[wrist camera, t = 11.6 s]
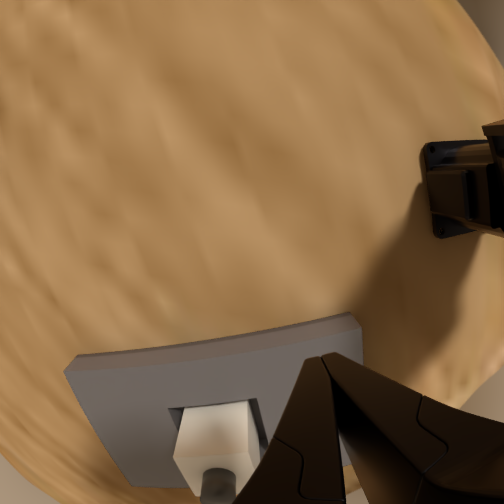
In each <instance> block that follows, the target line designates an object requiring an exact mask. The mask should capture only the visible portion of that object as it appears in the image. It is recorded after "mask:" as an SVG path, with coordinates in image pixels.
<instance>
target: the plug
mask: <svg viewBox="0 0 504 504" xmlns="http://www.w3.org/2000/svg"><path fill="white" fill-rule="evenodd" d="M173 459H174V461H175V462H176V464H177V466H178V468H179V469H180V471H181V473H182V475H183V476H184V478H185V480H186V482H187V483H188V485H189V487H190V488H191V490H192V492H193V493H194V495H195V496H200V502H201V503H202V504H231V503H232V502H233V501H234V499H235V498H236V494H239V493H240V491H241V490H242V488H243V487H244V486H245V484H246V483H247V482H248V480H249V479H250V477H251V476H252V474H253V472H254V471H255V469H256V468H257V466H258V465H259V463H260V452H259V436H258V430H257V426H256V423H255V419H254V415H253V412H252V408H251V404H250V400H249V399H246V400H240V401H232V402H225V403H217V404H209V405H199V406H189V407H185V408H184V412H183V416H182V421H181V425H180V429H179V433H178V437H177V442H176V446H175V450H174V455H173Z"/></svg>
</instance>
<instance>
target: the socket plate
mask: <svg viewBox="0 0 504 504" xmlns="http://www.w3.org/2000/svg"><path fill="white" fill-rule="evenodd" d="M331 352H337V353H339V354H341V355H343V356H345V357H347V358H349V359H351V360H353V361H355V362H357V363H359V364H361V365H363V366H364V363H363V339H362V327H361V326H360V325H359V323H358V322H357V321H356V320H355V318H354V317H353V316H352V314H351V313H350V312H347V313H343V314H339V315H334V316H330V317H326V318H321V319H317V320H312V321H307V322H303V323H298V324H293V325H288V326H283V327H278V328H273V329H268V330H263V331H257V332H252V333H246V334H241V335H235V336H229V337H223V338H217V339H211V340H204V341H197V342H191V343H184V344H176V345H169V346H161V347H153V348H145V349H136V350H127V351H117V352H107V353H95V354H83V355H77V356H76V357H75V358H74V360H73V361H72V362H71V363H70V364H69V365H68V366H67V368H66V369H65V370H64V371H63V372H64V374H65V376H66V378H67V380H68V382H69V384H70V386H71V388H72V390H73V392H74V394H75V396H76V398H77V400H78V402H79V404H80V406H81V407H82V409H83V411H84V413H85V415H86V416H87V418H88V420H89V422H90V424H91V425H92V427H93V429H94V430H95V432H96V434H97V435H98V437H99V439H100V440H101V442H102V443H103V445H104V447H105V448H106V450H107V451H108V453H109V454H110V456H111V457H112V459H113V460H114V462H115V463H116V465H117V466H118V468H119V469H120V471H121V472H122V473H123V475H124V476H125V478H126V479H127V480H128V482H129V483H130V484H131V486H135V487H154V488H190V487H189V485H188V483H187V482H186V480H185V478H184V476H183V475H182V473H181V471H180V469H179V468H178V466H177V464H176V462H175V461H174V459H173V455H174V450H175V446H176V442H177V437H178V433H179V429H180V425H181V421H182V416H183V412H184V408H185V407H189V406H199V405H209V404H217V403H225V402H232V401H240V400H246V399H249V400H250V404H251V408H252V412H253V415H254V419H255V423H256V426H257V430H258V436H259V452H260V461H261V459H262V457H263V455H264V453H265V451H266V449H267V447H268V445H269V443H270V441H271V439H272V437H273V434H274V432H275V430H276V428H277V425H278V423H279V421H280V418H281V416H282V414H283V411H284V409H285V407H286V404H287V402H288V400H289V397H290V395H291V392H292V390H293V387H294V385H295V382H296V380H297V377H298V375H299V372H300V370H301V367H302V365H303V362H304V360H305V359H307V358H311V357H315V356H320V357H321V356H322V355H323V354H327V353H331ZM339 440H340V448H341V456H342V465H343V466H347V465H350V464H352V463H351V461H350V459H349V457H348V454H347V452H346V450H345V447H344V445H343V443H342V441H341V438H340V436H339Z"/></svg>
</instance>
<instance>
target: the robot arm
mask: <svg viewBox="0 0 504 504" xmlns="http://www.w3.org/2000/svg"><path fill="white" fill-rule="evenodd" d="M482 129H483V133H484V136H486V137H487V140H460V141H441V142H429V143H426V144H425V145H424V147H423V151H424V157H425V163H426V169H427V175H426V177H427V184H428V192H429V201H430V210H431V212H432V221H433V232H434V235H435V237H437V238H440V239H443V238H448V237H452V236H456V235H460V234H464V233H468V232H473V231H481V232H485V233H488V234H492V235H495V236H499V237H503V238H504V120H500V121H497V122H493V123H490V124H487V125H483V126H482ZM430 147H431V148H432V153H431V152H430V150H429V148H430ZM440 228H441V229H442V232H441V234H440V233H439V230H440ZM339 436H340V438H341V441H342V443H343V445H344V447H345V450H346V452H347V454H348V457H349V459H350V461H351V463H352V466H353V468H354V470H355V473H356V475H357V477H358V479H359V482H360V484H361V486H362V489H363V491H364V493H365V495H366V497H367V500H368V502H369V504H504V423H502V422H498V421H495V420H491V419H488V418H484V417H480V416H477V415H474V414H471V413H467V412H464V411H461V410H459V409H456V408H453V407H450V406H448V405H445V404H443V403H441V402H438V401H436V400H434V399H431V398H429V397H427V396H425V395H424V396H423V395H422V394H420V393H418V392H416V391H414V390H412V389H410V388H408V387H406V386H404V385H402V384H399V383H397V382H395V381H393V380H391V379H389V378H387V377H385V376H383V375H381V374H379V373H377V372H375V371H373V370H371V369H369V368H367V367H365V366H363V365H361V364H359V363H357V362H355V361H353V360H351V359H349V358H347V357H345V356H343V355H341V354H339V353H337V352H331V353H327V354H323V355H322V356H321V357H320V356H315V357H311V358H307V359H305V360H304V362H303V365H302V367H301V370H300V372H299V375H298V377H297V380H296V382H295V385H294V387H293V390H292V392H291V395H290V397H289V400H288V402H287V404H286V407H285V409H284V411H283V414H282V416H281V418H280V421H279V423H278V425H277V428H276V430H275V432H274V434H273V437H272V439H271V441H270V443H269V445H268V447H267V449H266V451H265V453H264V455H263V457H262V459H261V461H260V463H259V465H258V466H257V468H256V469H255V471H254V472H253V474H252V476H251V477H250V479H249V480H248V482H247V483H246V484H245V486H244V487H243V488H242V490H241V491H240V493H239V494H238V495H237V497H236V498H235V499H234V501H233V502H232V503H231V504H346V495H345V484H344V475H343V465H342V456H341V448H340V440H339Z"/></svg>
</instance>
